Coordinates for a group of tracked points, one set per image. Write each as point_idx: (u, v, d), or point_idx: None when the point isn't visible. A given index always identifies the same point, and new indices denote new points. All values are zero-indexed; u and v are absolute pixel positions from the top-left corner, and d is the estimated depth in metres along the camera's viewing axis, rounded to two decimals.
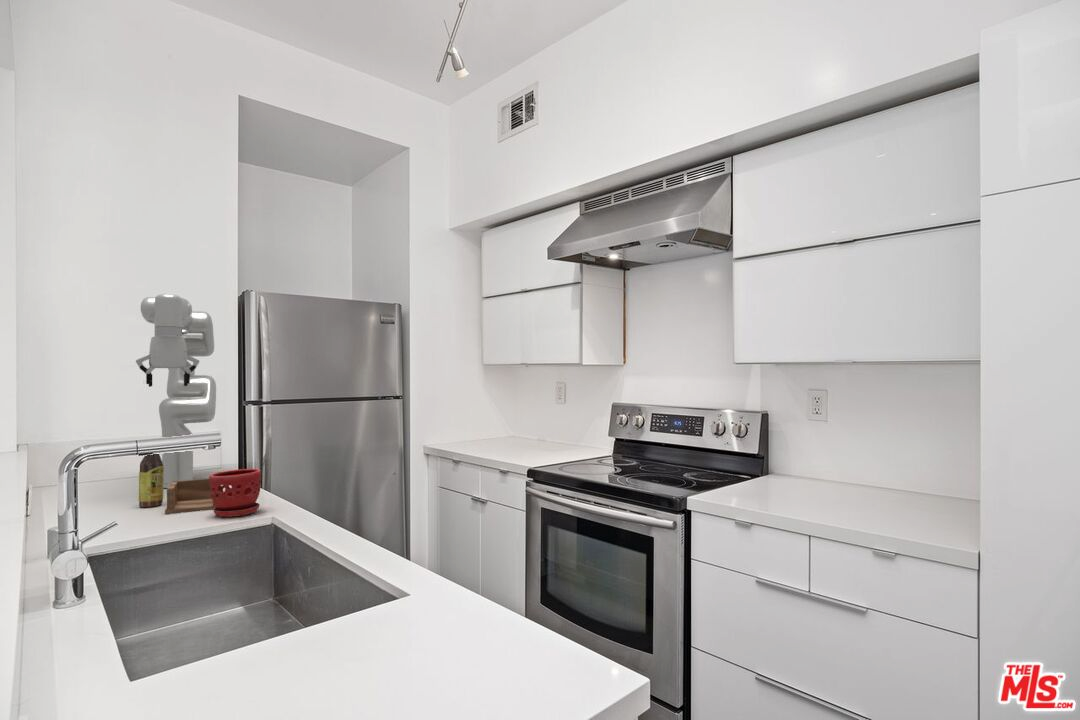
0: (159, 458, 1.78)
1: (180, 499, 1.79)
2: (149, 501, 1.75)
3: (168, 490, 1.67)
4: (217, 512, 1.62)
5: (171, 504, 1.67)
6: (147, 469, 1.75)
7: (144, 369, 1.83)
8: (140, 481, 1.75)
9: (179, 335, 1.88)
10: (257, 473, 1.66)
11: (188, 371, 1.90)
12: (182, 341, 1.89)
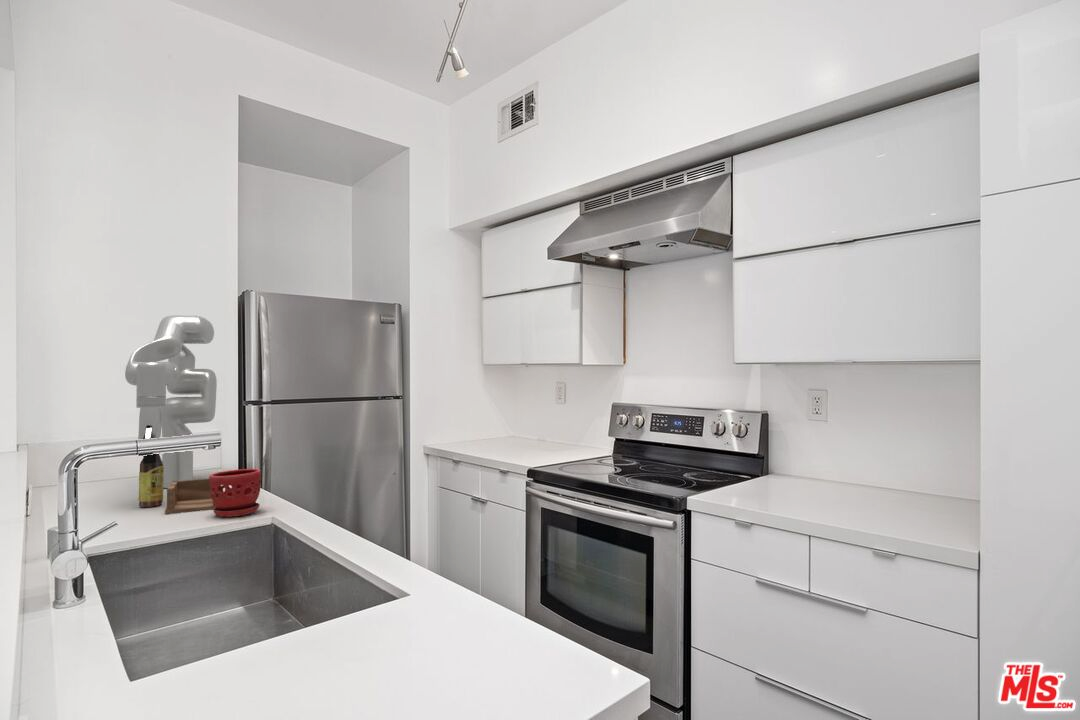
0: (159, 458, 1.78)
1: (180, 499, 1.79)
2: (149, 501, 1.75)
3: (168, 490, 1.67)
4: (217, 512, 1.62)
5: (171, 504, 1.67)
6: (147, 469, 1.75)
7: None
8: (140, 481, 1.75)
9: None
10: (257, 473, 1.66)
11: None
12: None
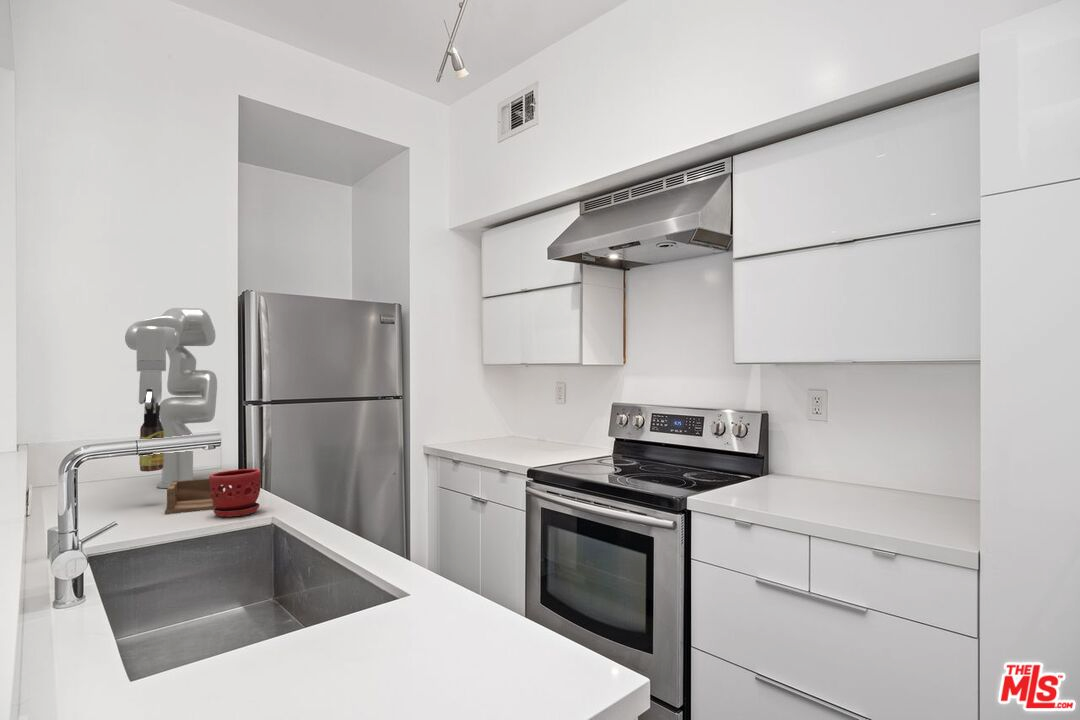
0: (159, 423, 1.79)
1: (180, 499, 1.79)
2: (149, 466, 1.76)
3: (168, 490, 1.67)
4: (217, 512, 1.62)
5: (171, 504, 1.67)
6: (147, 434, 1.76)
7: (152, 409, 1.75)
8: None
9: None
10: (257, 473, 1.66)
11: None
12: None
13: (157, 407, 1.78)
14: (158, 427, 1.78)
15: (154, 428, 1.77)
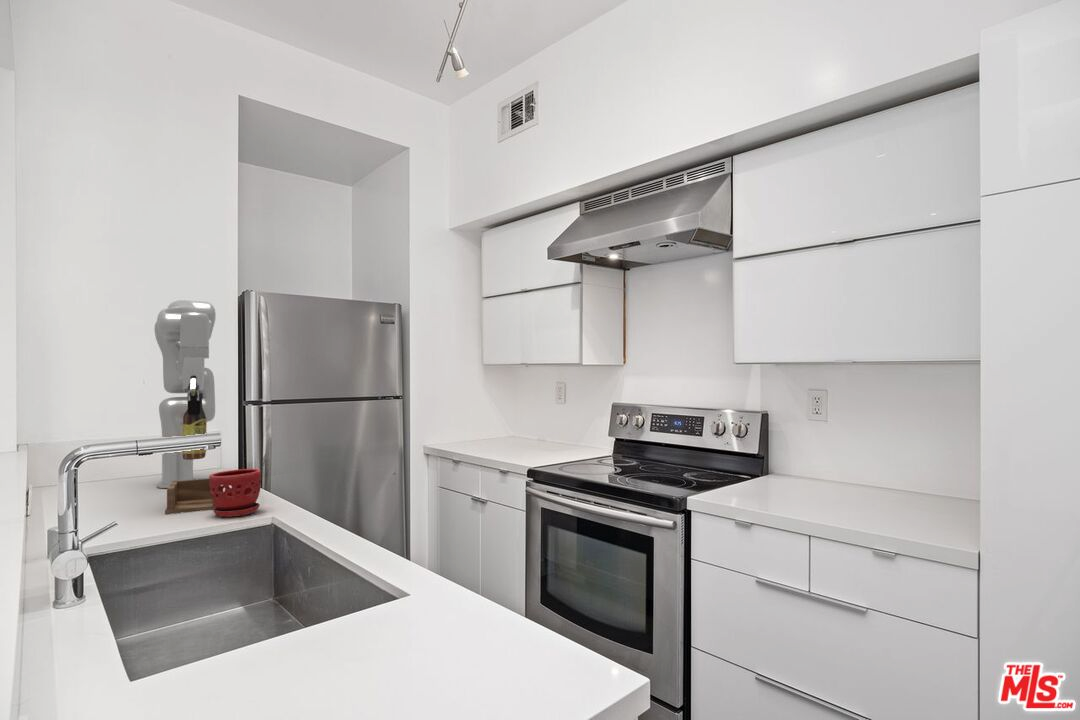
0: (202, 411, 1.76)
1: (180, 499, 1.79)
2: (192, 454, 1.73)
3: (168, 490, 1.67)
4: (217, 512, 1.62)
5: (171, 504, 1.67)
6: (191, 422, 1.73)
7: (196, 396, 1.72)
8: (184, 433, 1.73)
9: None
10: (257, 473, 1.66)
11: None
12: None
13: (200, 394, 1.76)
14: (201, 415, 1.75)
15: (197, 415, 1.74)
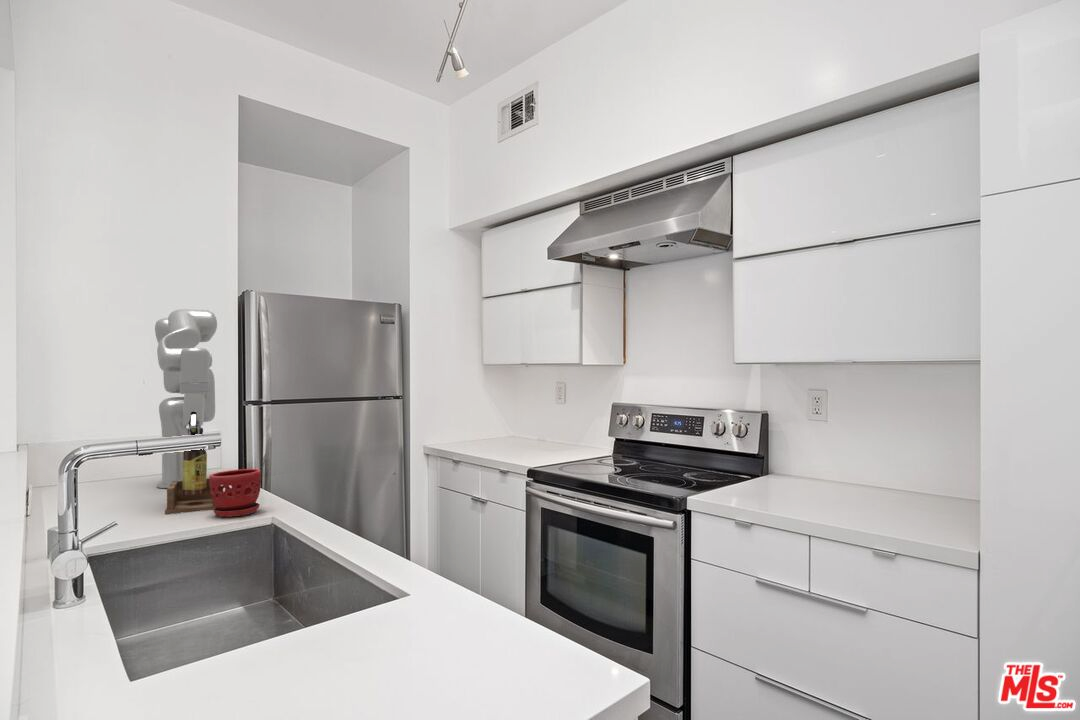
0: None
1: (180, 499, 1.79)
2: (193, 490, 1.73)
3: (168, 490, 1.67)
4: (217, 512, 1.62)
5: (171, 504, 1.67)
6: (191, 458, 1.73)
7: (196, 432, 1.72)
8: (184, 469, 1.73)
9: None
10: (257, 473, 1.66)
11: None
12: None
13: (200, 430, 1.75)
14: (201, 450, 1.75)
15: (197, 451, 1.74)
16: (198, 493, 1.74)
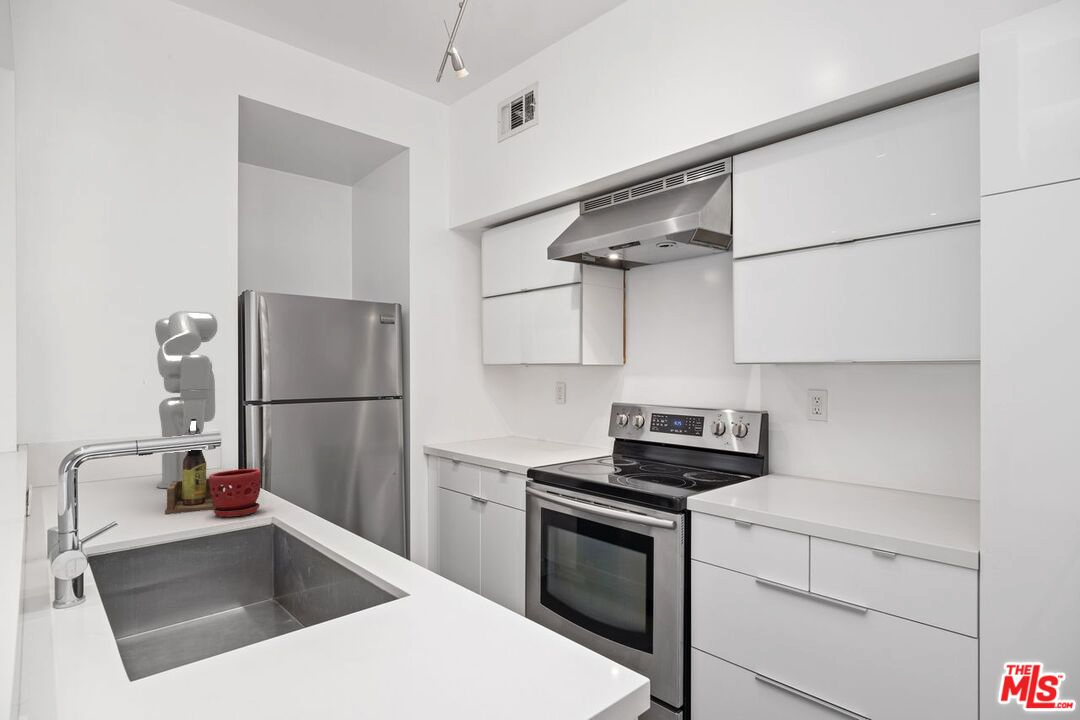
0: (202, 455, 1.76)
1: (180, 499, 1.79)
2: (192, 499, 1.73)
3: (168, 490, 1.67)
4: (217, 512, 1.62)
5: (171, 504, 1.67)
6: (190, 467, 1.73)
7: None
8: (183, 478, 1.73)
9: None
10: (257, 473, 1.66)
11: None
12: None
13: None
14: (201, 459, 1.75)
15: (197, 460, 1.74)
16: (198, 502, 1.74)
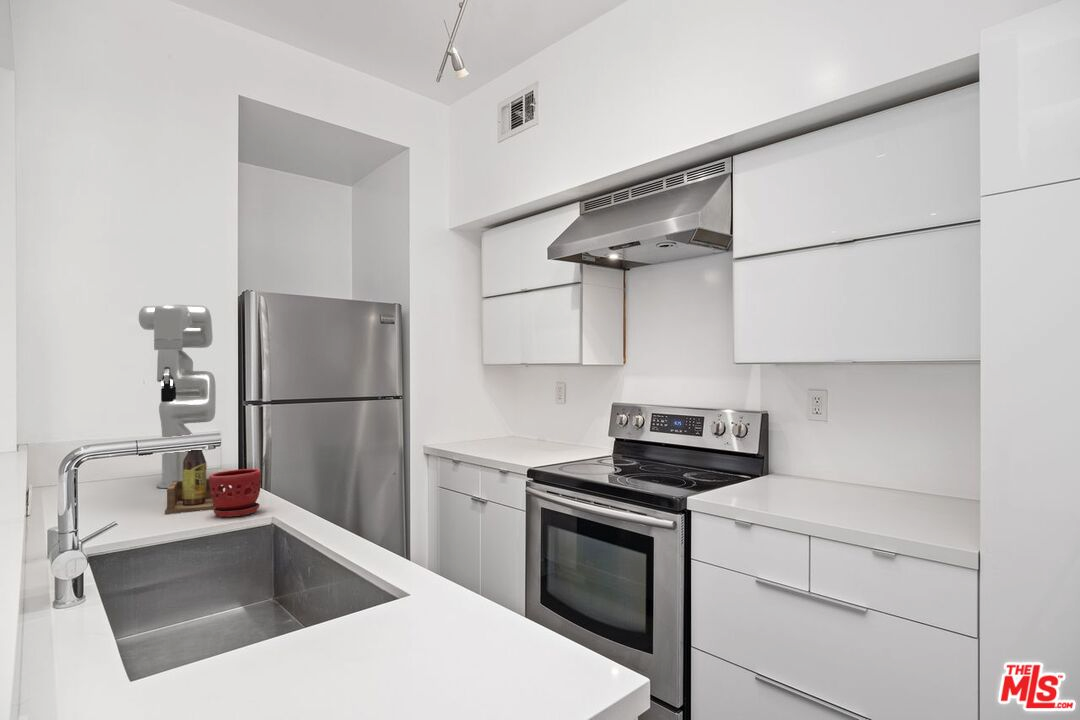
0: (202, 455, 1.76)
1: (180, 499, 1.79)
2: (192, 499, 1.73)
3: (168, 490, 1.67)
4: (217, 512, 1.62)
5: (171, 504, 1.67)
6: (191, 467, 1.73)
7: (170, 384, 1.77)
8: (184, 478, 1.73)
9: None
10: (257, 473, 1.66)
11: None
12: None
13: None
14: (201, 459, 1.75)
15: (197, 460, 1.74)
16: (198, 502, 1.74)
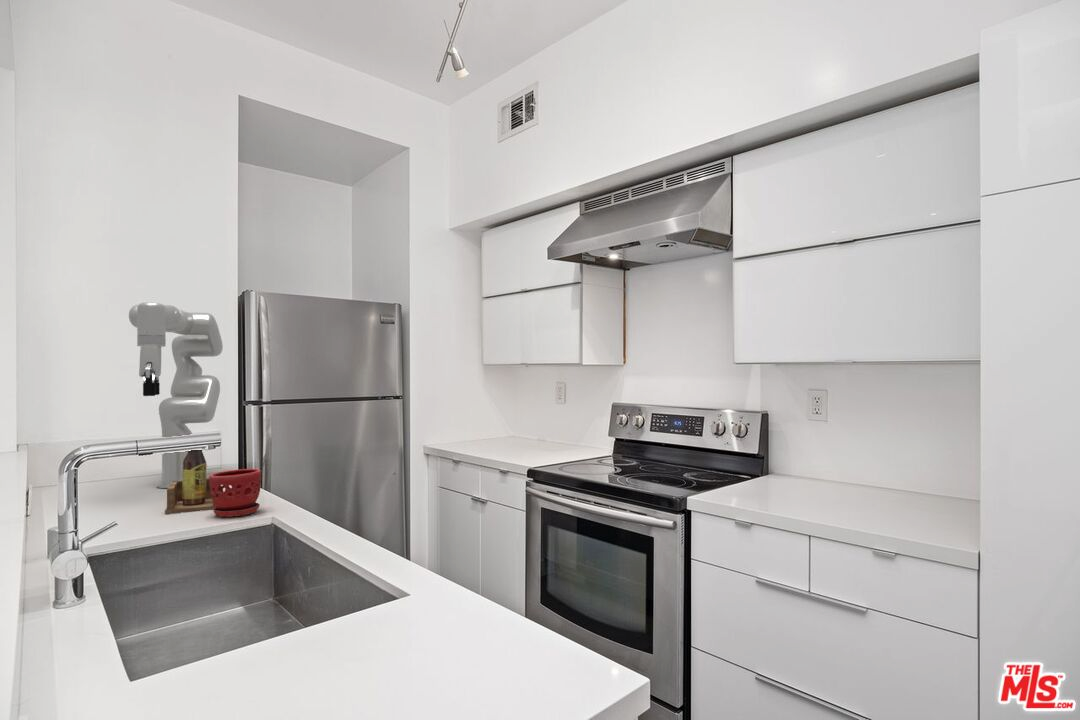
0: (202, 455, 1.76)
1: (180, 499, 1.79)
2: (192, 499, 1.73)
3: (168, 490, 1.67)
4: (217, 512, 1.62)
5: (171, 504, 1.67)
6: (191, 467, 1.73)
7: (151, 378, 1.80)
8: (184, 478, 1.73)
9: None
10: (257, 473, 1.66)
11: None
12: None
13: None
14: (201, 459, 1.75)
15: (197, 460, 1.74)
16: (198, 502, 1.74)
